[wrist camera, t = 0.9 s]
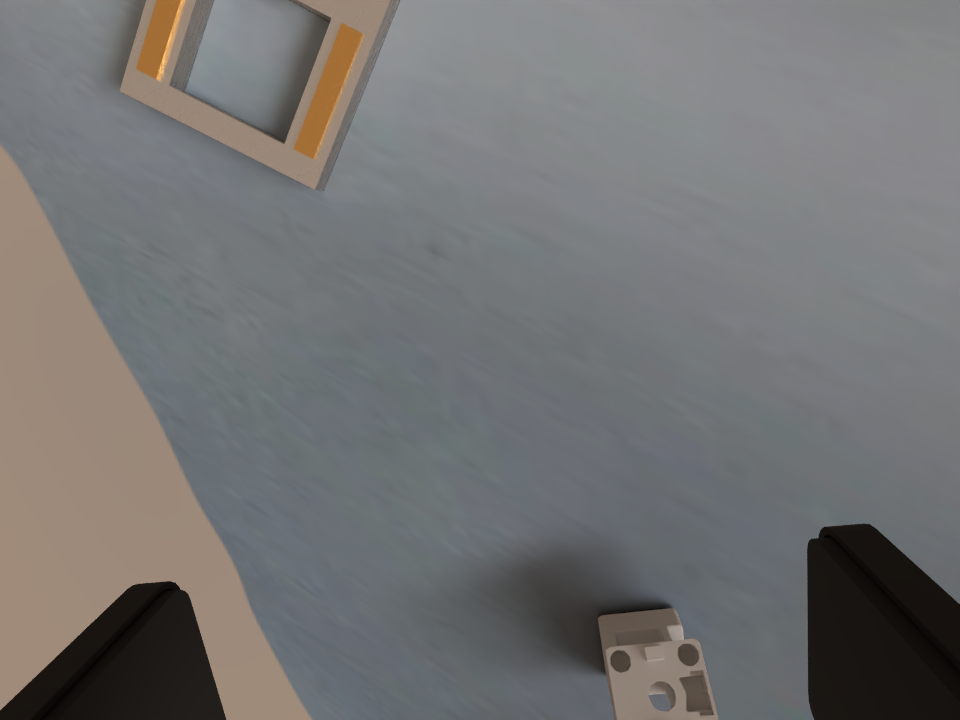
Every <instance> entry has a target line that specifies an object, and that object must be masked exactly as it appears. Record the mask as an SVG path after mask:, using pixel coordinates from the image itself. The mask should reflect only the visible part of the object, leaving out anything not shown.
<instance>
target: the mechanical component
mask: <svg viewBox="0 0 960 720" xmlns="http://www.w3.org/2000/svg"><path fill="white" fill-rule="evenodd" d="M598 624H599V631H600V637H601V644H602V651H603V657H604V664H605V670H606V677H607V682H608V687H609V692H610V696H611V701H612V706H613V712H614V718H615V720H719V719H718V715H717V711H716V707H715V703H714V699H713V695H712V691H711V687H710V683H709V679H708V675H707V671H706V667H705V663H704V659H703V655H702V651H701V647H700V642H698V641H697V640H695V639H686V640H684V637H683V628H682V625H681V622H680V619H679V616H678V613H677V610H675V609H674V608H668V609H658V610H649V611H639V612H630V613H620V614H611V615H601V616H600V617H599V618H598ZM663 693H667V695H668V698H669V701H670V704H671V707H672V708H671V709H670V710H668V711H659V710H657V709H656V708H654V707H653V705H652V703H651V701H650V699H649V698H648V696H649V695H652V694H663Z"/></svg>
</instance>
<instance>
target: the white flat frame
mask: <svg viewBox="0 0 960 720" xmlns="http://www.w3.org/2000/svg"><path fill="white" fill-rule="evenodd" d="M213 1H214V0H146V3H145V6H144V10H143V13H142V16H141V20H140V23H139V27H138V30H137V33H136V37H135V40H134V44H133V47H132V50H131V54H130V57H129V61H128V64H127V67H126V71H125V74H124V77H123V81H122V84H121V88H120V92H122V93H124V94H126V95H128V96H130V97H132V98H134V99H136V100H138V101H140V102H142V103H144V104H146V105H148V106H150V107H152V108H154V109H156V110H158V111H160V112H162V113H164V114H166V115H168V116H170V117H172V118H174V119H176V120H178V121H180V122H182V123H184V124H186V125H188V126H190V127H192V128H194V129H196V130H198V131H200V132H202V133H203V134H205V135H207V136H209V137H211V138H213V139H215V140H217V141H219V142H221V143H223V144H225V145H227V146H229V147H231V148H233V149H235V150H237V151H239V152H241V153H243V154H245V155H247V156H249V157H251V158H253V159H255V160H257V161H259V162H261V163H263V164H265V165H267V166H269V167H271V168H273V169H275V170H277V171H279V172H281V173H283V174H285V175H286V176H288V177H290V178H292V179H294V180H296V181H298V182H300V183H302V184H304V185H306V186H308V187H310V188H312V189H314V190H320V191H324V189H325V186H326V184H327V181H328V179H329V176H330V174H331V171H332V169H333V166H334V164H335V161H336V159H337V156H338V154H339V151H340V149H341V146H342V144H343V141H344V139H345V136H346V134H347V131H348V129H349V126H350V124H351V121H352V119H353V116H354V114H355V111H356V109H357V106H358V104H359V102H360V99H361V97H362V94H363V92H364V89H365V87H366V84H367V82H368V79H369V77H370V74H371V72H372V69H373V67H374V64H375V62H376V59H377V57H378V54H379V52H380V49H381V47H382V44H383V42H384V39H385V37H386V34H387V32H388V29H389V27H390V24H391V22H392V19H393V17H394V14H395V12H396V9H397V7H398V4H399V2H400V0H290V1H292V2H294V3H295V4H297V5H299V6H301V7H303V8H305V9H307V10H309V11H311V12H313V13H315V14H317V15H318V16H320V17H322V18H324V19H326V20H328V21H330V24H329V26H328V29H327V32H326V34H325V37H324V40H323V42H322V45H321V48H320V50H319V53H318V56H317V58H316V61H315V64H314V66H313V69H312V72H311V74H310V77H309V80H308V82H307V85H306V88H305V90H304V93H303V96H302V98H301V101H300V104H299V106H298V109H297V112H296V114H295V117H294V120H293V122H292V125H291V128H290V130H289V133H288V136H287V138H286V141H285V142H283V141H281V140H279V139H277V138H275V137H273V136H271V135H269V134H267V133H265V132H264V131H262V130H260V129H258V128H256V127H254V126H252V125H250V124H248V123H246V122H244V121H242V120H240V119H238V118H236V117H234V116H232V115H230V114H228V113H226V112H224V111H222V110H220V109H218V108H216V107H214V106H212V105H210V104H208V103H207V102H205V101H203V100H201V99H199V98H197V97H195V96H193V95H191V94H189V93H187V92H185V88H186V84H187V81H188V78H189V75H190V72H191V69H192V66H193V63H194V60H195V57H196V53H197V50H198V47H199V44H200V41H201V38H202V35H203V32H204V29H205V26H206V23H207V19H208V16H209V13H210V10H211V7H212V4H213Z"/></svg>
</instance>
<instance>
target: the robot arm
mask: <svg viewBox="0 0 960 720" xmlns="http://www.w3.org/2000/svg"><path fill="white" fill-rule="evenodd" d="M807 569H808V695H809V703H810V708H811V711H812V715H813V717H814V720H960V604H959V603H957V602H956V601H955V600H954V599H953V598H952V597H951V596H950V595H949V594H948V593H946V592H945V591H944V590H943V589H942V588H941V587H940V586H939V585H938V584H936V583H935V582H934V581H933V580H932V579H931V578H930V577H929V576H928V575H927V574H925V573H924V572H923V571H922V570H921V569H920V568H919V567H918V566H917V565H915V564H914V563H913V562H912V561H911V560H910V559H909V558H908V557H907V556H906V555H904V554H903V553H902V552H901V551H900V550H899V549H898V548H897V547H896V546H894V545H893V544H892V543H891V542H890V541H889V540H888V539H887V538H886V537H885V536H883V535H882V534H881V533H880V532H879V531H878V530H877V529H876V528H874V527H873V526H871V525H870V524H855V525H843V526H830V527H824V528H822V529H821V531H820V534H819V538H816V539H811V540H809V543H808V548H807ZM0 720H226V717H225V714H224V710H223V707H222V704H221V700H220V697H219V694H218V691H217V687H216V684H215V680H214V677H213V674H212V670H211V667H210V664H209V661H208V657H207V654H206V650H205V647H204V644H203V640H202V637H201V634H200V630H199V627H198V624H197V621H196V617H195V614H194V610H193V607H192V603H191V600H190V598H189V595H188V594H187V593H186V592H185V591H183V590H180V588H179V586H178V585H177V584H176V583H173V582H170V581H168V582H156V583H144V584H137V585H133V586H131V587H130V588H128V589H127V590H126V591H125V592H124V593H123V594H122V595H121V596H120V597H119V598H118V599H117V600H116V601H115V602H114V603H112V604H111V605H110V606H109V607H108V608H107V609H106V610H105V611H104V612H103V613H102V614H101V615H100V616H99V617H98V618H97V619H96V620H95V621H94V622H93V623H91V624H90V625H89V626H88V627H87V628H86V629H85V630H84V631H83V632H82V633H81V634H80V635H79V636H78V637H77V638H76V639H75V640H74V641H73V642H72V643H70V645H69V646H67V647H66V648H65V649H64V650H63V651H62V652H61V653H60V654H59V655H58V656H57V657H56V658H55V659H54V660H53V661H52V662H51V663H50V664H48V666H47V667H45V668H44V670H42V671H41V672H40V673H39V674H38V675H37V676H36V677H35V678H34V679H33V680H32V681H31V682H30V683H29V684H28V685H27V686H25V687H24V688H23V689H22V690H21V691H20V692H19V693H18V694H17V695H16V696H15V697H14V698H13V699H12V700H11V701H10V702H9V703H8V704H7V705H6V706H5V707H3V708H2V709H1V710H0Z"/></svg>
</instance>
